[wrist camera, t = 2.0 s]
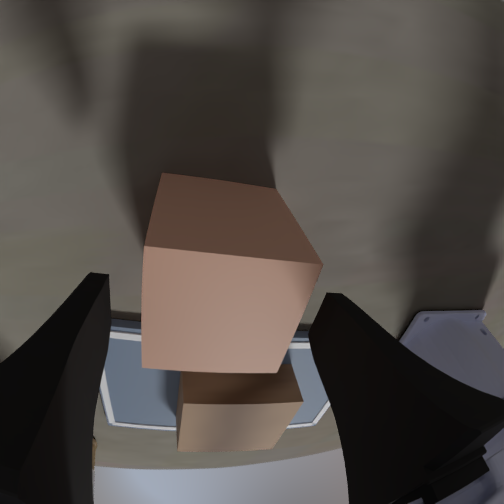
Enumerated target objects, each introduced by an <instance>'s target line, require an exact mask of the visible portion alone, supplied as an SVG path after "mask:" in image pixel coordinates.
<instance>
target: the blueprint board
mask: <svg viewBox="0 0 504 504" xmlns="http://www.w3.org/2000/svg"><path fill="white" fill-rule="evenodd" d="M111 322H112V324H111V331H110V339H109V347H108V353H107V357H106V361H105V366H104V370H103V375H102V379H101V384H100V394H101V398H102V402H103V406H104V410H105V414H106V418H107V422H108V425H111V426H119V427H128V428H139V429H151V430H165V431H176V410H177V400H178V391H179V382H180V373H181V371H176V370H162V369H150V368H142V351H141V322H139V321H129V320H120V319H112V318H111ZM308 333H309V331H296V332H295V334H294V336H293V338H292V341H291V343H290V345H289V347H288V350H287V352H286V354H285V356H284V358H283V361H282V363H281V364H292V367H293V370H294V373H295V376H296V379H297V382H298V385H299V388H300V391H301V395H302V398H303V401H304V402H303V404H302V405H301V407H300V408H299V410H298V411H297V413H296V414H295V416H294V417H293V419H292V421H291V422H290V424H289V425H288V426H287V428H286V429H289V428H299V427H308V426H315V425H316V424H317V422H318V421H319V420H320V418H321V417H322V416H323V414H324V413H325V412H326V410H327V409H328V408H329V406H330V402H329V400H328V397H327V394H326V392H325V389H324V387H323V384H322V381H321V379H320V376H319V373H318V371H317V368H316V365H315V363H314V360H313V356H312V352H311V348H310V343H309V338H308Z"/></svg>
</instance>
